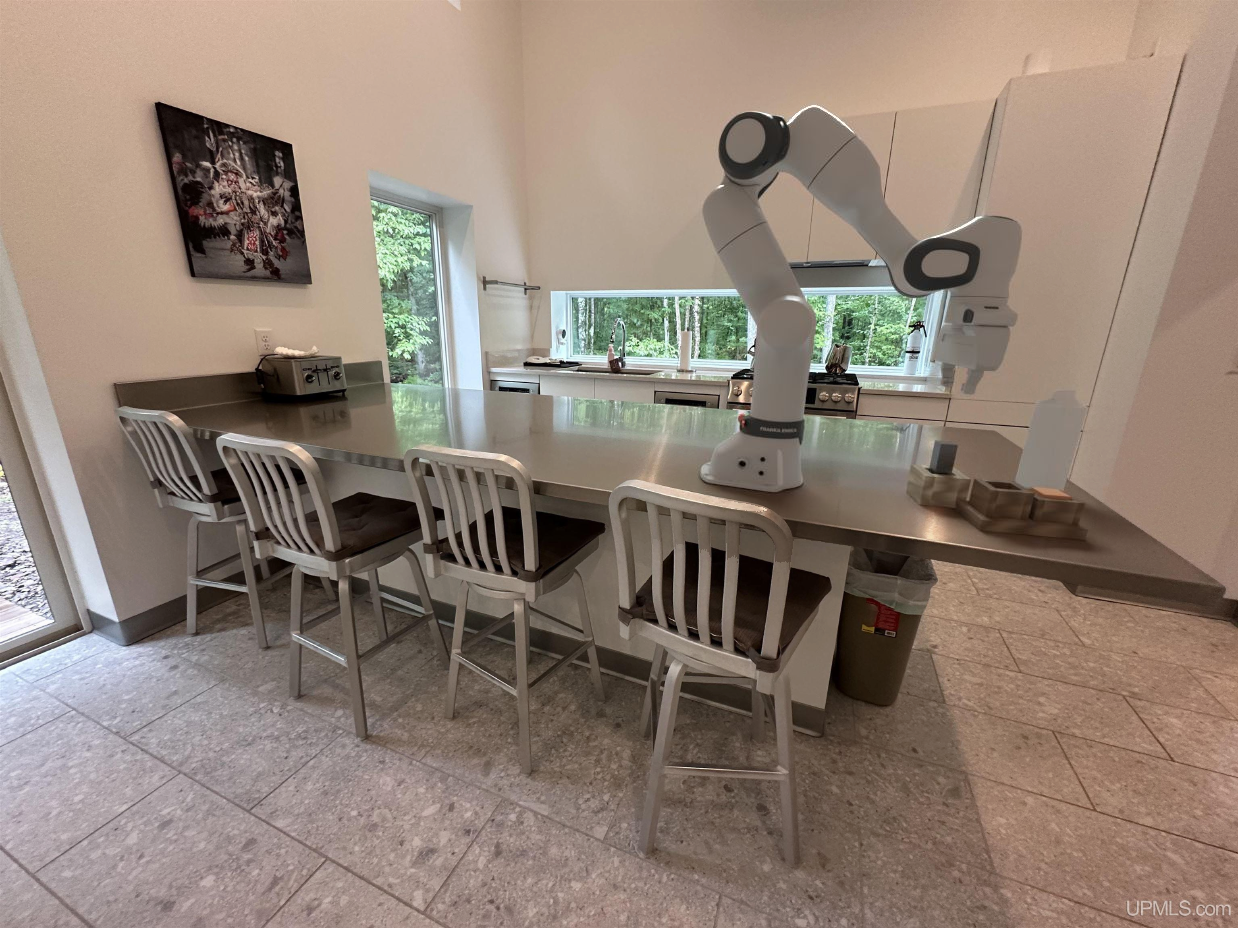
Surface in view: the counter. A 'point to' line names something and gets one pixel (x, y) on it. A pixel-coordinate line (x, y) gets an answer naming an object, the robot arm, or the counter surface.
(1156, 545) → the counter surface
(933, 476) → the beige hollow block
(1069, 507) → the socket base
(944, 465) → the steel peg
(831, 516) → the counter surface
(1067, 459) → the milk
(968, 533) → the counter surface
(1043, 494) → the button
